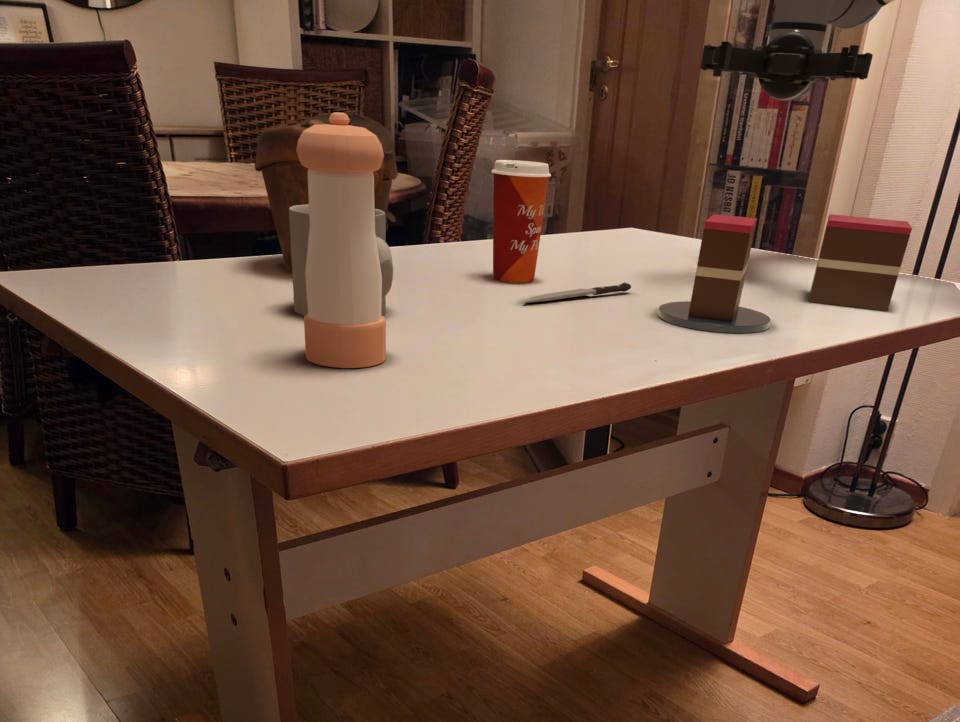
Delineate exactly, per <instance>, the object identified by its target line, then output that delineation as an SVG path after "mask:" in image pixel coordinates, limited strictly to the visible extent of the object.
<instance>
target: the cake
mask: <svg viewBox="0 0 960 722" xmlns="http://www.w3.org/2000/svg"><path fill="white" fill-rule="evenodd" d="M912 230H913V227H912V226H911V224H910V223H909V221H908V220H907V221H906V220H897V219H885V218H874V217H866V216H865V217H864V216H853V215H843V214H835V213H834V214H833V213H829V214H828V218H827V221H826V226H825V229H824V233H823V237H822V242H821V247H820V250H819V254H818V257H817V262H816V267H815V270H814V274H813V278H812V283H811V285H810V291H809V296H808V297H809V298H808V302H809V303H816V304H824V305H832V306H839V307H840V306H841V307H849V308H857V309H865V310H874V311H883V312H888V311H889V308H890V304H891V302H892V299H893V294H894V291H895V288H896V284H897V281H898V278H899V274H900V270H901V267H902V264H903V262H904V261H903V260H904V257H905V253H906V251H907V248H908V247H907V246H908V244H909V240H910V236H911V233H912Z"/></svg>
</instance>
